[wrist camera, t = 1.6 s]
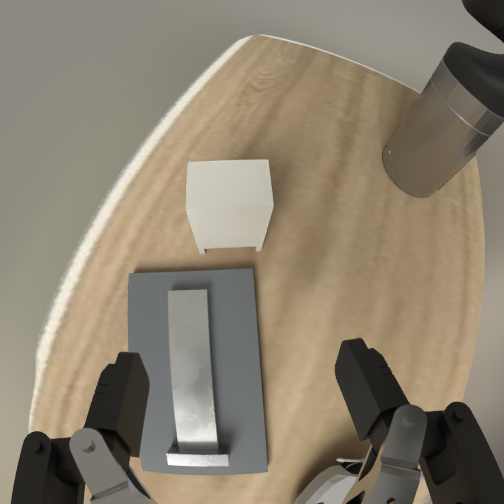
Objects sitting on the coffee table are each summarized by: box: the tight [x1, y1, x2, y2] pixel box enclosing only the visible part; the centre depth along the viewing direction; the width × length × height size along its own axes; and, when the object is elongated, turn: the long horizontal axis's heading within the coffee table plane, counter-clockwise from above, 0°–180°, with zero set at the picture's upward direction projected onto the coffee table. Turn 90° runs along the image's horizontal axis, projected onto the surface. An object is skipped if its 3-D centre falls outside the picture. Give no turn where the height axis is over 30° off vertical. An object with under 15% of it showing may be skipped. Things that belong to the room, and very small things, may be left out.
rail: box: [166, 289, 229, 466], centre depth 21 cm, size 5×16×2 cm, turn 4°
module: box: [186, 160, 274, 254], centre depth 24 cm, size 6×4×9 cm
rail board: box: [128, 268, 268, 475], centre depth 23 cm, size 12×20×1 cm, turn 4°
